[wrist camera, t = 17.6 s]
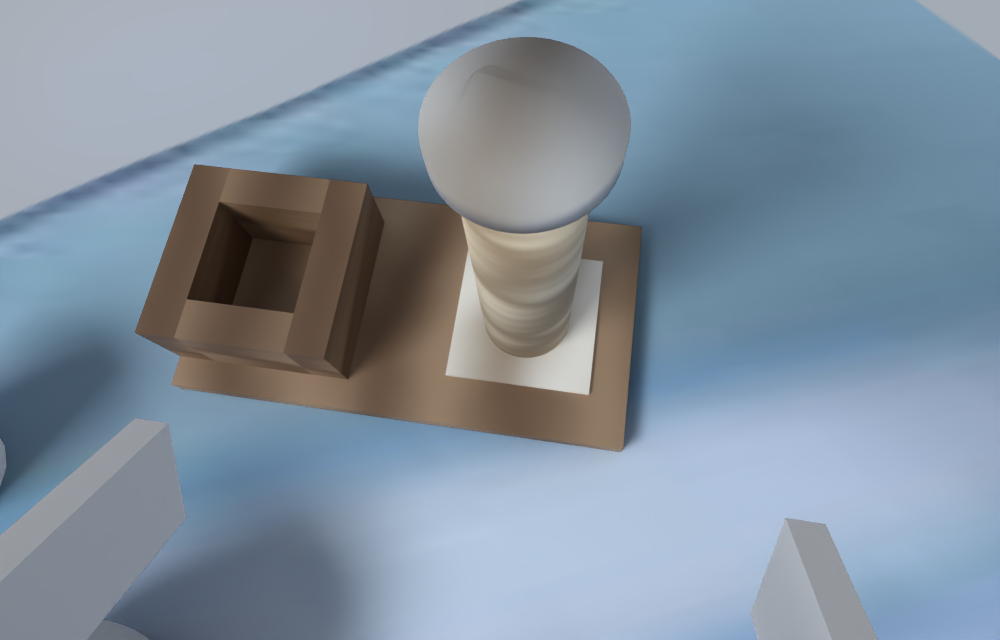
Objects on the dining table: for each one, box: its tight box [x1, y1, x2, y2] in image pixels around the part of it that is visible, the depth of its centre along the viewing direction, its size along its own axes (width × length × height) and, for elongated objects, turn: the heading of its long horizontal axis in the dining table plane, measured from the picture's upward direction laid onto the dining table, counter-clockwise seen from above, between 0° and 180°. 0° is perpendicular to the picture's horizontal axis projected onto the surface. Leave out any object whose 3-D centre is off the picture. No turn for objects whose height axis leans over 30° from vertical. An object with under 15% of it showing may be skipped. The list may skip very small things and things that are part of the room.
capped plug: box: [418, 37, 631, 358], centre depth 25 cm, size 6×6×16 cm
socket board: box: [135, 164, 642, 452], centre depth 31 cm, size 23×12×5 cm, turn 82°
